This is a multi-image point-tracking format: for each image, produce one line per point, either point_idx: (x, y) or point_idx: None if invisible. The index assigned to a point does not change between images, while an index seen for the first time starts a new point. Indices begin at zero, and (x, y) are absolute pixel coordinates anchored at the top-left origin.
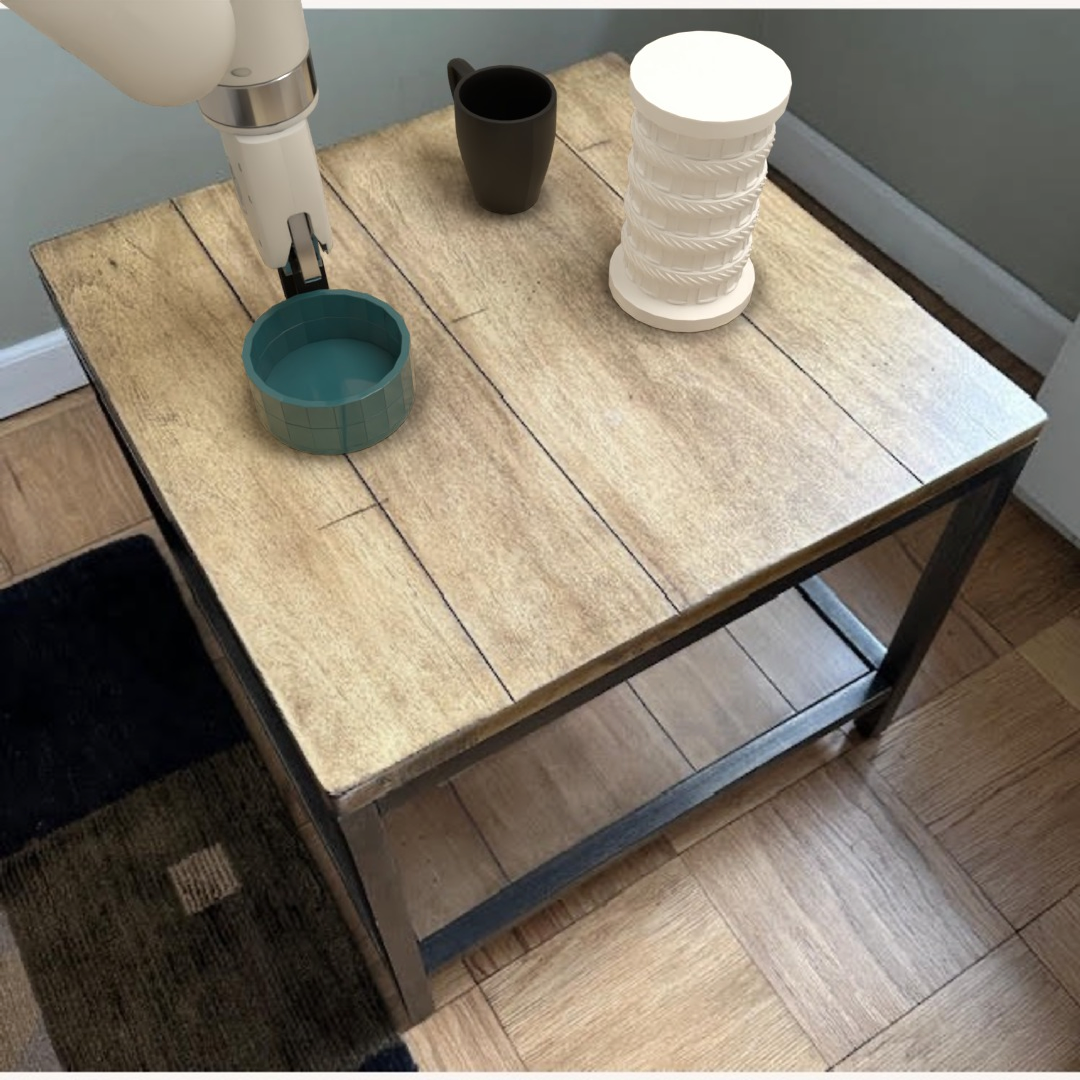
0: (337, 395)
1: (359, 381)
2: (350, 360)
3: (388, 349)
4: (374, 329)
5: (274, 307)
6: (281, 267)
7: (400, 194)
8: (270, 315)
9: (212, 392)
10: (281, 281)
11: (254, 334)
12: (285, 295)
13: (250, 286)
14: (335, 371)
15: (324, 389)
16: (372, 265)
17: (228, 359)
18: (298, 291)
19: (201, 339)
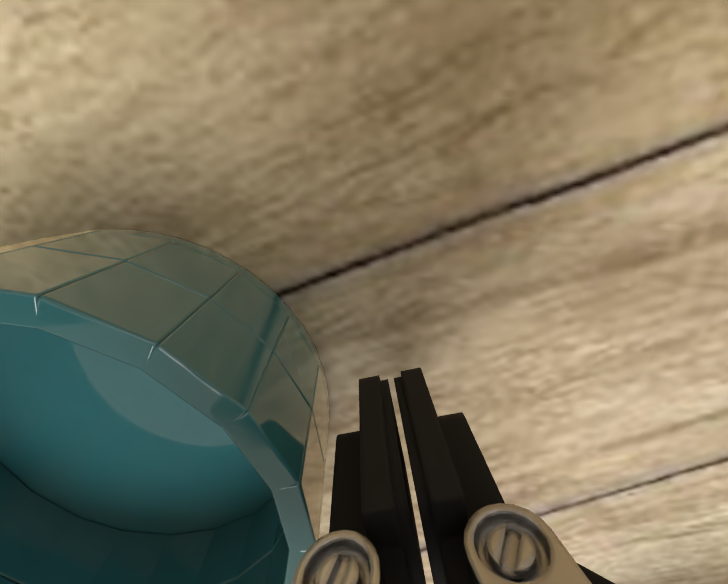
0: (122, 417)
1: (169, 458)
2: (235, 447)
3: (253, 517)
4: (265, 540)
5: (234, 415)
6: (394, 517)
7: (723, 540)
8: (184, 400)
9: (170, 105)
10: (413, 423)
11: (63, 336)
12: (402, 385)
13: (569, 233)
14: (201, 418)
15: (141, 394)
16: (537, 485)
17: (299, 159)
18: (334, 479)
19: (395, 79)
